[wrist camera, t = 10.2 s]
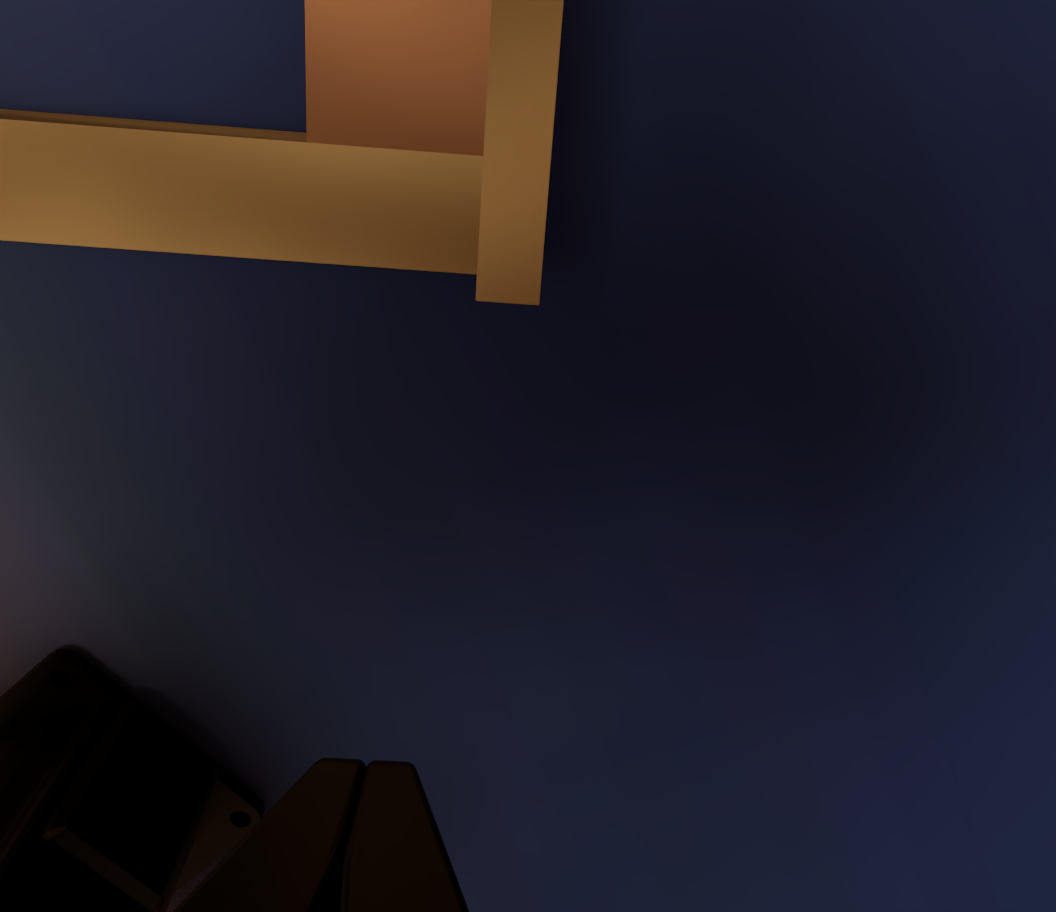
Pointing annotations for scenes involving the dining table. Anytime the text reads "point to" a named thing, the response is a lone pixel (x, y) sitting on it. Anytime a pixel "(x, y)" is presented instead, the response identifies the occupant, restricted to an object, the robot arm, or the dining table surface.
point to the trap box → (329, 155)
